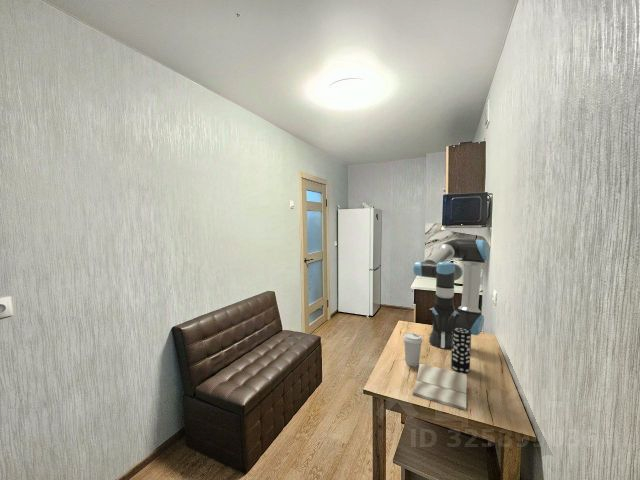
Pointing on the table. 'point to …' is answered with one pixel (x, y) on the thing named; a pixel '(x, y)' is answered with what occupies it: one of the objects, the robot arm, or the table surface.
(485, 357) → the table surface
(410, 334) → the coffee cup
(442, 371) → the plank
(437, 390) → the laid board
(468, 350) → the spotted tube
